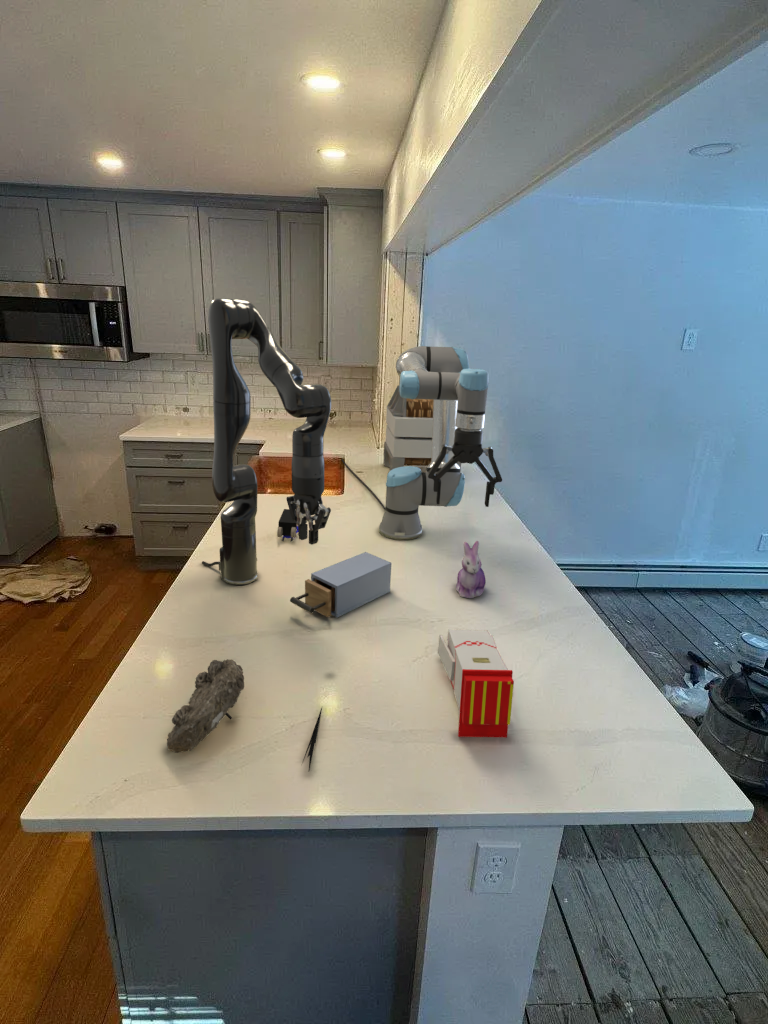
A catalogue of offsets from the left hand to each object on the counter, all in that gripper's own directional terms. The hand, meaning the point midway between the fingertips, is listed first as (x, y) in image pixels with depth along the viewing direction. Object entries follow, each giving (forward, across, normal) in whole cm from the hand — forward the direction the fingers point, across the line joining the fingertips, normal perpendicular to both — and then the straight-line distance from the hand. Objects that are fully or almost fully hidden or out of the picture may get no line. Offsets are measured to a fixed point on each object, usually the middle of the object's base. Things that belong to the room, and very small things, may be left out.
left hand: (308, 541), depth 137 cm
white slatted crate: (+21, -66, +127) cm, 145 cm away
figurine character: (+21, -45, +30) cm, 59 cm away
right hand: (-3, +14, +44) cm, 46 cm away
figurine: (+21, +21, +42) cm, 52 cm away
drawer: (+20, 0, +10) cm, 22 cm away
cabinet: (+21, 0, +15) cm, 26 cm away
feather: (+21, +30, -23) cm, 44 cm away
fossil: (+21, +15, -37) cm, 45 cm away
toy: (+21, +46, +5) cm, 51 cm away
